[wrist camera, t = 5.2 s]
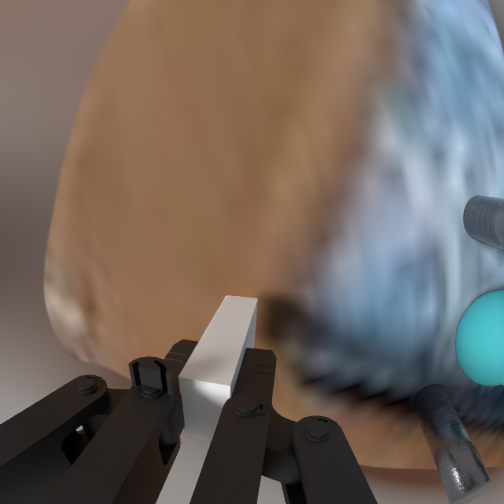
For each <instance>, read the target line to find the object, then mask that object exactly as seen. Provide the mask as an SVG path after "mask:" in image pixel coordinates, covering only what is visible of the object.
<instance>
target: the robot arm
mask: <svg viewBox="0 0 504 504" xmlns="http://www.w3.org/2000/svg"><path fill="white" fill-rule="evenodd" d="M257 301H258V298H248V297H239V296H230V295H226V296H225V298H224V300H223V302H222V303H221V305H220V307H219V308H218V310H217V312H216V313H215V315H214V317H213V319H212V320H211V322H210V324H209V325H208V327H207V329H206V330H205V332H204V334H203V336H202V337H201V339H200V341H199V342H197V341H191V340H185V339H183V340H181V341H179V342H178V343H176V344H174V345H173V347H172V348H171V350H170V351H169V353H168V354H167V355H166V356H165V359H161V358H158V357H141V358H138V359H135V360H133V361H132V362H131V363H129V369H130V375H131V380H132V384H133V385H132V387H131V388H130V389H109V388H107V384H106V381H105V380H103V379H102V378H101V377H98V376H96V375H83V376H79V377H77V378H75V379H74V380H72V381H70V382H68V383H67V384H65V385H64V386H62V387H60V388H59V389H57V390H56V391H54V392H52V393H51V394H49V395H48V396H46V397H44V398H43V399H41V400H40V401H38V402H36V403H35V404H33V405H32V406H30V407H28V408H26V409H25V410H23V411H22V412H20V413H18V414H17V415H15V416H13V417H12V418H10V419H9V420H7V421H5V422H4V423H2V424H0V504H155V503H156V501H157V499H158V497H159V494H160V492H161V490H162V488H163V485H164V483H165V481H166V479H167V476H168V474H169V472H170V469H171V467H172V465H173V463H174V460H175V458H176V456H177V454H178V451H179V449H180V444H181V441H180V435H181V432H182V430H183V428H184V431H185V436H186V437H190V438H195V439H199V440H204V441H210V442H211V444H210V447H209V450H208V453H207V456H206V458H205V461H204V464H203V467H202V470H201V473H200V475H199V479H198V481H197V484H196V487H195V490H194V492H193V496H192V498H191V501H190V504H257V498H258V492H259V486H260V480H261V475H263V476H265V477H268V478H271V479H273V480H276V481H279V482H281V485H282V490H283V494H284V497H285V502H286V504H377V501H376V500H375V497H374V495H373V493H372V491H371V489H370V487H369V485H368V483H367V481H366V478H365V476H364V474H363V472H362V470H361V468H360V466H359V464H358V462H357V460H356V458H355V456H354V454H353V451H352V449H351V447H350V445H349V443H348V441H347V439H346V437H345V435H344V433H343V431H342V429H341V427H340V426H339V425H338V424H337V422H335V421H333V420H332V419H330V418H327V417H323V416H309V417H305V418H303V419H301V420H300V421H298V422H295V421H292V420H289V419H286V418H284V417H282V416H281V415H279V414H278V413H277V412H276V411H275V410H274V408H273V406H272V394H273V385H274V377H275V368H276V359H277V358H276V356H275V355H274V353H273V351H272V350H264V349H255V348H254V342H255V329H256V315H257ZM81 425H82V427H83V429H82V430H81V431H76V429H77V428H78V427H80V426H81Z"/></svg>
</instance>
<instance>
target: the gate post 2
mask: <svg viewBox="0 0 504 504" xmlns="http://www.w3.org/2000/svg"><path fill="white" fill-rule="evenodd" d="M463 221H464V226H465V229H466V231H467V233H468V234H469V235H470V236H471V237H472V238H475V239H477V240H480V241H483V242H485V243H488V244H490V245H493V246H496V247H498V248H501V249H503V250H504V199H501V198H494V197H487V196H475V197H473V198H471V199H470V200H469V201H468V203H467V205H466V207H465V210H464V216H463Z"/></svg>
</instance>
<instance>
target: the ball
mask: <svg viewBox="0 0 504 504" xmlns="http://www.w3.org/2000/svg"><path fill="white" fill-rule="evenodd" d="M455 347H456V355H457V359H458V362H459V365H460V367H461V368H462V370H463V372H464V373H465V374H466V375H467V376H468V377H469V378H470V379H471V380H472V381H474V382H476V383H478V384H481V385H485V386H497V385H501V384H504V290H496V291H491V292H488V293H486V294H484V295H482V296H480V297H479V298H478V299H476V300H475V301H474V302H473V303H472V304H471V305H470V306H469V307H468V309H467V310H466V311H465V313H464V315H463V317H462V319H461V321H460V323H459V326H458V329H457V333H456V341H455Z"/></svg>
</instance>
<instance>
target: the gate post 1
mask: <svg viewBox="0 0 504 504" xmlns="http://www.w3.org/2000/svg"><path fill="white" fill-rule="evenodd" d="M412 408H413V410H414V412H415V414H416V417H417V419H418V422H419V424H420V426H421V429H422V431H423V434H424V436H425V438H426V441H427V443H428V446H429V448H430V451H431V454H432V456H433V459H434V461H435V464H436V467H437V469H438V472H439V475H440V478H441V481H442V483H443V486H444V489H445V492H446V495H447V498H448V501H449V504H466V503H468V502H470V501H472V500H473V499H475V498H476V497H478V496H479V495H481V494H482V493H483V492H484V491H485V490H486V489H487V488H488V487H489V486H490V485H491V483H492V480H491V478H490V476H489V474H488V471H487V469H486V467H485V465H484V463H483V461H482V459H481V457H480V455H479V453H478V451H477V449H476V447H475V445H474V444H473V442H472V440H471V438H470V436H469V434H468V432H467V430H466V429H465V427H464V425H463V423H462V421H461V420H460V418H459V416H458V414H457V412H456V411H455V409H454V407H453V406H452V404H451V402H450V400H449V399H448V397H447V395H446V394H445V392H444V390H443V389H442V387H441V386H439V385H430V386H427V387H425V388H423V389H422V390H420V391H419V392H418V393H417V394H416V395H415V397H414V399H413V401H412Z"/></svg>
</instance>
